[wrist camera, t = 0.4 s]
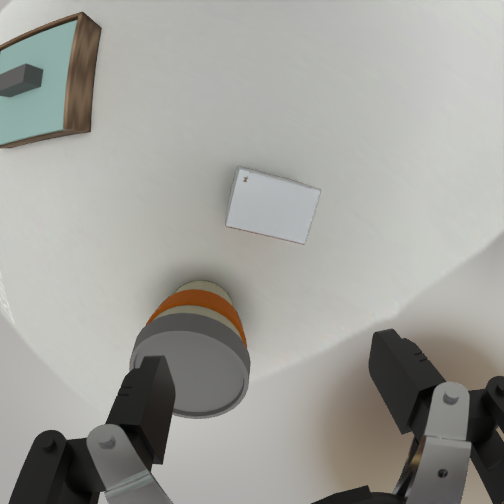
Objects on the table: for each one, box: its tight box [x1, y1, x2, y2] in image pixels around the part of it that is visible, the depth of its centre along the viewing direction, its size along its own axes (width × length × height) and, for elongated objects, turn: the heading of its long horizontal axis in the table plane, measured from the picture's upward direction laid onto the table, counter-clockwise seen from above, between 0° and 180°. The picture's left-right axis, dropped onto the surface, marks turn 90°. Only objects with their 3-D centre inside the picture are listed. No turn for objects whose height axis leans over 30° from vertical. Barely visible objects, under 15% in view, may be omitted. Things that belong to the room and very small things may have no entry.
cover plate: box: [0, 20, 77, 145], centre depth 23 cm, size 15×14×5 cm
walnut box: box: [0, 12, 102, 148], centre depth 27 cm, size 16×16×6 cm
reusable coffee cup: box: [129, 281, 250, 419], centre depth 34 cm, size 12×13×15 cm
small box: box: [225, 166, 321, 245], centre depth 32 cm, size 8×6×10 cm
